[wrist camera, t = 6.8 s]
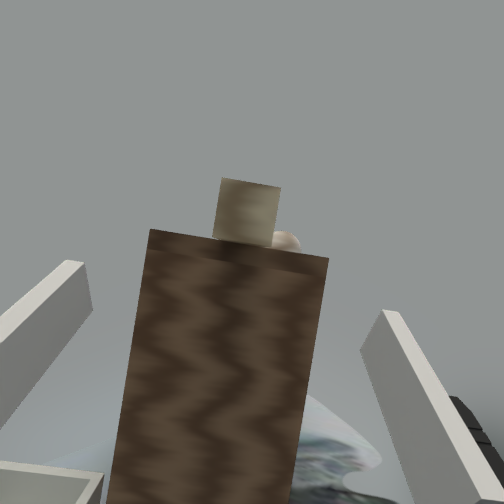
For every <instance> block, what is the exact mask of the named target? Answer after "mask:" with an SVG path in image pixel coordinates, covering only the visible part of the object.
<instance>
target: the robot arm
mask: <svg viewBox="0 0 504 504" xmlns="http://www.w3.org/2000/svg"><path fill="white" fill-rule="evenodd" d="M92 311H93V308H92V302H91V296H90V291H89V285H88V280H87V274H86V268H85V263H84V262H78V261H71V260H65V261H64V262H63V263H62V264H61V265H60V266H58V267H57V268H56V269H55V270H54V271H53V272H51V273H50V274H49V275H48V276H47V277H46V278H44V279H43V280H42V281H41V282H40V283H39V284H37V285H36V286H35V287H34V288H33V289H32V290H30V291H29V292H28V293H27V294H26V295H25V296H23V297H22V298H21V299H20V300H19V301H18V302H16V304H14V305H13V306H12V307H11V308H9V309H8V310H7V311H6V312H5V313H4V314H3V315H1V316H0V429H1V428H2V427H3V426H4V424H5V423H6V422H7V420H8V419H9V418H10V417H11V415H12V414H13V413H14V411H15V410H16V409H17V407H18V406H19V405H20V404H21V402H22V401H23V400H24V398H25V397H26V396H27V395H28V393H29V392H30V391H31V389H32V388H33V387H34V386H35V384H36V383H37V382H38V381H39V379H40V378H41V377H42V375H43V374H44V373H45V372H46V370H47V369H48V368H49V366H50V365H51V364H52V363H53V361H54V360H55V358H56V357H57V356H58V355H59V354H60V352H61V351H62V350H63V348H64V347H65V346H66V344H67V343H68V342H69V341H70V339H71V338H72V337H73V336H74V334H75V333H76V332H77V330H78V329H79V328H80V327H81V325H82V324H83V323H84V321H85V320H86V319H87V317H88V316H89V315H90V314H91V312H92ZM360 352H361V355H362V358H363V361H364V363H365V366H366V369H367V372H368V375H369V377H370V380H371V382H372V386H373V388H374V391H375V394H376V397H377V400H378V402H379V405H380V408H381V411H382V414H383V416H384V419H385V422H386V425H387V427H388V430H389V433H390V436H391V438H392V441H393V444H394V447H395V450H396V452H397V455H398V458H399V461H400V464H401V466H402V469H403V472H404V475H405V477H406V480H407V483H408V486H409V489H410V492H411V494H412V497H413V500H414V503H415V504H504V462H503V460H502V459H501V457H500V456H499V454H498V452H497V451H496V449H495V448H494V447H492V445H491V442H490V440H489V439H488V437H487V435H486V434H485V433H484V432H483V431H482V427H481V426H480V424H479V423H478V421H477V420H476V418H475V416H474V415H473V413H472V412H471V411H470V410H469V409H468V408H467V407H466V406H465V405H464V404H463V402H461V400H459V398H458V397H454V396H448V395H447V393H446V392H445V389H444V388H443V386H442V384H441V383H440V381H439V379H438V378H437V376H436V374H435V373H434V371H433V369H432V368H431V366H430V364H429V363H428V361H427V359H426V357H425V356H424V354H423V353H422V351H421V349H420V347H419V346H418V344H417V342H416V341H415V339H414V337H413V336H412V334H411V332H410V331H409V329H408V327H407V326H406V324H405V322H404V320H403V319H402V317H401V315H400V314H399V312H396V311H389V310H383V309H382V310H381V312H380V314H379V316H378V318H377V320H376V321H375V323H374V325H373V327H372V329H371V331H370V332H369V334H368V336H367V338H366V340H365V342H364V343H363V345H362V347H361V349H360Z"/></svg>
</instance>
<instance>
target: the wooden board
mask: <svg viewBox="0 0 504 504" xmlns="http://www.w3.org/2000/svg"><path fill="white" fill-rule="evenodd" d="M280 191H281V188H279V187H274V186H268V185H262V184H257V183H251V182H245V181H240V180H234V179H228V178H223V177H222V180H221V185H220V192H219V198H218V204H217V210H216V216H215V222H214V229H213V235H212V237H214V238H217V239H219V240H222V241H228V242H234V243H241V244H247V245H253V246H259V247H271V246H272V239H273V233H274V227H275V221H276V215H277V209H278V202H279V197H280Z"/></svg>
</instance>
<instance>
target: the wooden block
mask: <svg viewBox="0 0 504 504" xmlns="http://www.w3.org/2000/svg"><path fill="white" fill-rule="evenodd" d="M328 262H329V258H326V257H319V256H314V255H307V254H301V246H300V243H299V241H298V240H297V238H296V237H295V236H293V235H292V234H291V233H289V232H286V231H276V232H274V233H273V239H272V246H271V247H259V246H253V245H247V244H241V243H234V242H228V241H222V240H216V239H210V238H204V237H197V236H191V235H186V234H179V233H173V232H167V231H161V230H155V229H150V232H149V238H148V244H147V251H146V257H145V263H144V270H143V276H142V282H141V288H140V295H139V301H138V307H137V313H136V320H135V326H134V332H133V338H132V345H131V352H130V357H129V364H128V370H127V376H126V382H125V389H124V395H123V401H122V408H121V413H120V420H119V426H118V432H117V439H116V445H115V451H114V457H113V464H112V470H111V476H110V482H109V489H108V495H107V501H106V504H288V502H289V496H290V490H291V484H292V478H293V472H294V466H295V460H296V454H297V448H298V442H299V436H300V430H301V424H302V418H303V412H304V406H305V400H306V394H307V388H308V382H309V376H310V369H311V363H312V358H313V351H314V345H315V340H316V334H317V328H318V322H319V316H320V309H321V304H322V297H323V291H324V285H325V280H326V273H327V268H328Z"/></svg>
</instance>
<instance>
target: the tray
mask: <svg viewBox="0 0 504 504" xmlns="http://www.w3.org/2000/svg"><path fill="white" fill-rule="evenodd" d="M103 480H104V473H99V472H91V471H82V470H74V469H66V468H58V467H49V466H41V465H33V464H24V463H16V462H7V461H0V504H100V498H101V492H102V486H103Z"/></svg>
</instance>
